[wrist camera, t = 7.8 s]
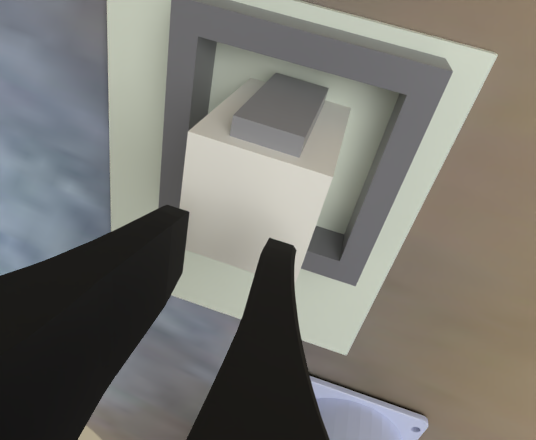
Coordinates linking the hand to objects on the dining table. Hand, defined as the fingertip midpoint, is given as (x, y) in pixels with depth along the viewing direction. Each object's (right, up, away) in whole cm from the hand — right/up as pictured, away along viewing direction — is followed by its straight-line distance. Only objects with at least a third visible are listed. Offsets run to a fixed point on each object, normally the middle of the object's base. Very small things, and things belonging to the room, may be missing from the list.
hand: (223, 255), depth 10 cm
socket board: (+1, +2, +9) cm, 9 cm away
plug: (+2, +4, +6) cm, 8 cm away
